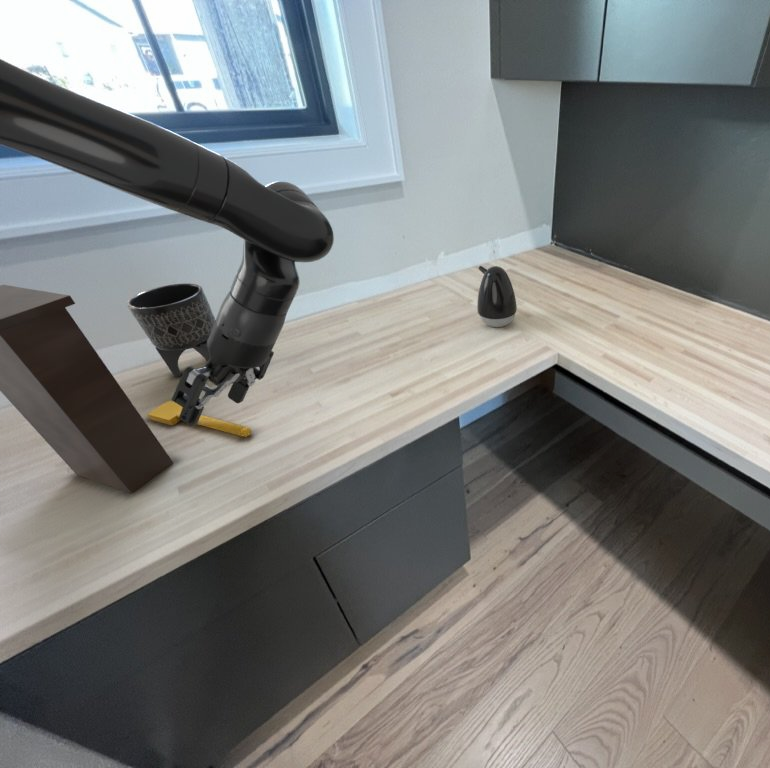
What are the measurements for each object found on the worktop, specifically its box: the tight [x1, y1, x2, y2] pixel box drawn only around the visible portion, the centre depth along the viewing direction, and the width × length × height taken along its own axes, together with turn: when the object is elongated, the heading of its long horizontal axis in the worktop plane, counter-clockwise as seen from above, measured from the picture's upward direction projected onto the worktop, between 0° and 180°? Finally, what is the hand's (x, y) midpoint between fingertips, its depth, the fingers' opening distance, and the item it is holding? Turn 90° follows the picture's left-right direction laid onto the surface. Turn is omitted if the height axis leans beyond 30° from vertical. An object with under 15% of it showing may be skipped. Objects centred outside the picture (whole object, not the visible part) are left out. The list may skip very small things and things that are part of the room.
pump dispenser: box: [476, 265, 518, 328], centre depth 106 cm, size 10×10×15 cm
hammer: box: [146, 400, 252, 438], centre depth 79 cm, size 23×4×2 cm, turn 71°
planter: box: [126, 282, 216, 378], centre depth 90 cm, size 13×13×18 cm
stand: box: [0, 284, 174, 494], centre depth 61 cm, size 14×9×30 cm, turn 72°
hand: (212, 410), depth 64 cm, fingers open, 8 cm apart
